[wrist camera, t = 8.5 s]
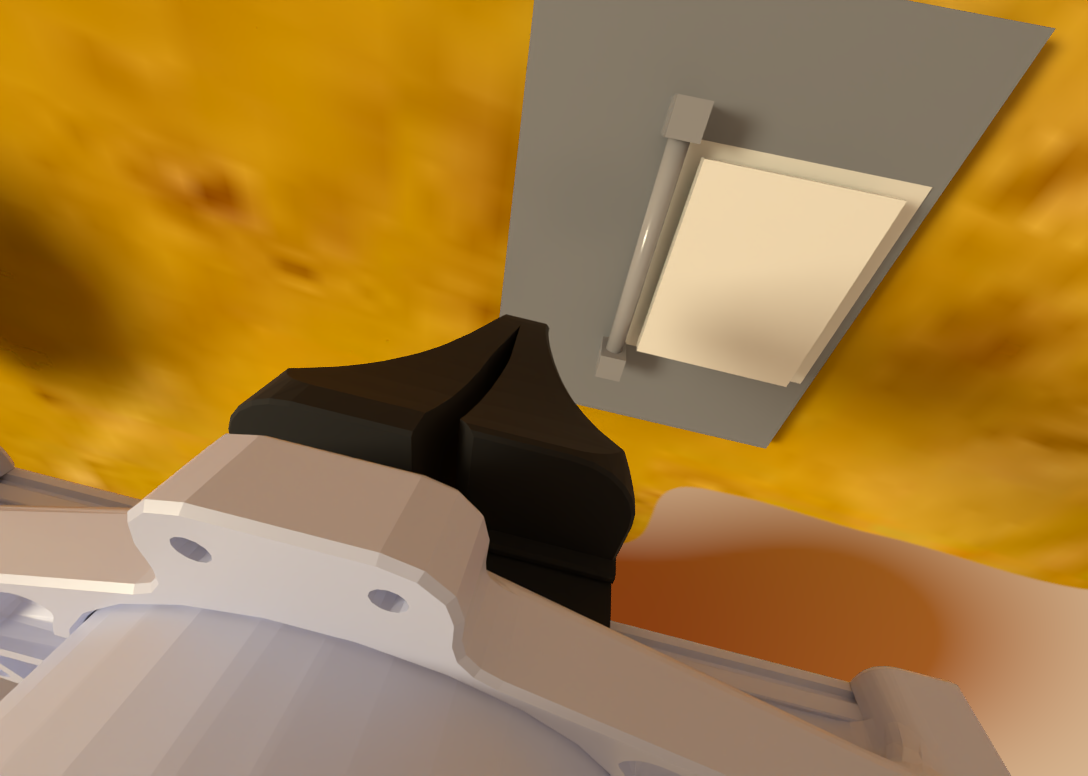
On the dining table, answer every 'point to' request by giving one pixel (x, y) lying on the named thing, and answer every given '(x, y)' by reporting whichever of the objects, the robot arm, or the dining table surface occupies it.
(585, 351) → the grey flat piece
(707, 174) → the tile
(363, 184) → the dining table surface
